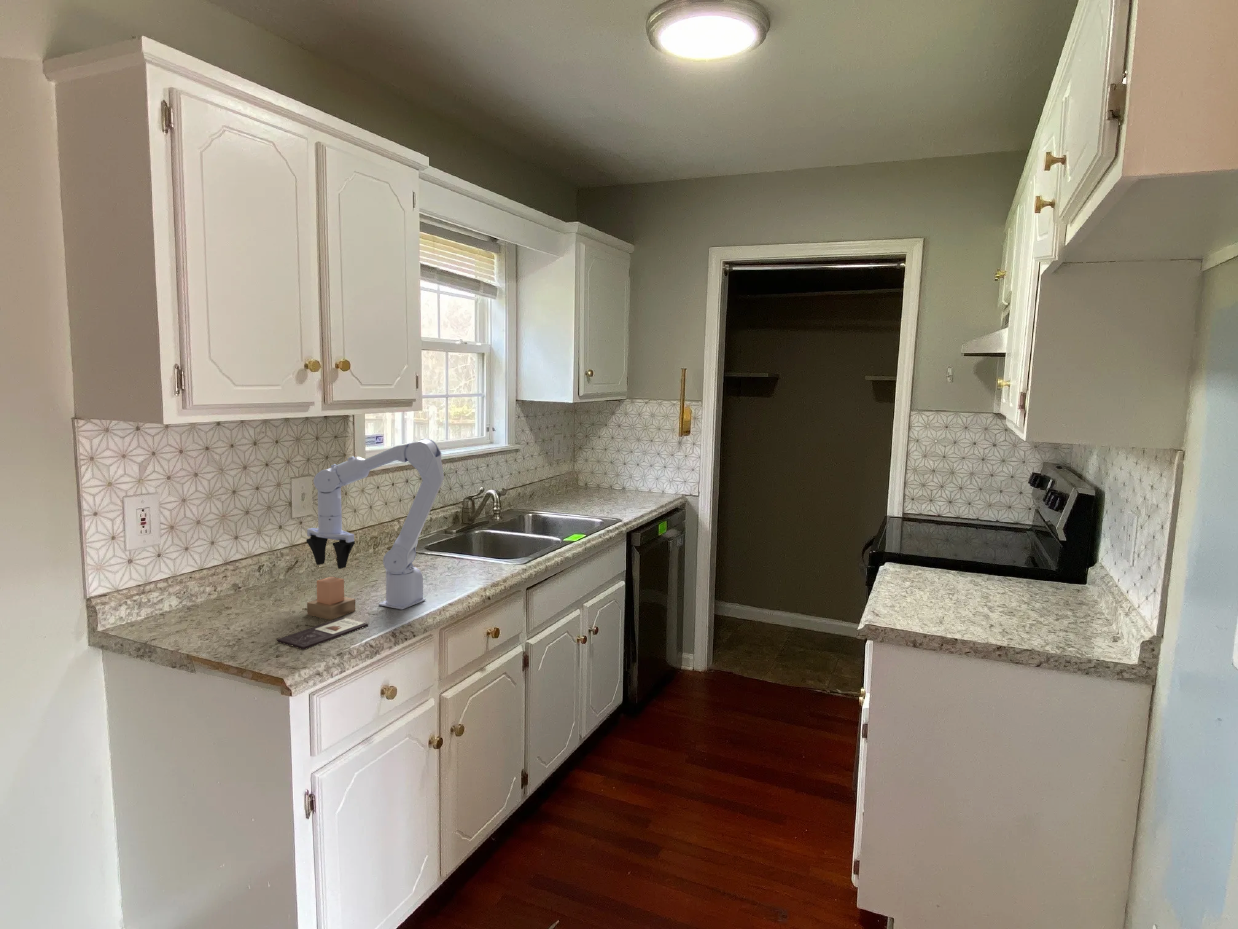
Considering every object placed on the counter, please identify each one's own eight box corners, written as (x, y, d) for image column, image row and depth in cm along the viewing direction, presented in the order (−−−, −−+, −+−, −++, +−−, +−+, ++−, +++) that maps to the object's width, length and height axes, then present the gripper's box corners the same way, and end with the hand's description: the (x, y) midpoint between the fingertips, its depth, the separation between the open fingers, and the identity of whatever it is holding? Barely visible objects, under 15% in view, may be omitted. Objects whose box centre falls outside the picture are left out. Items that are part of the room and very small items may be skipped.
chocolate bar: (276, 639, 164) (342, 617, 180) (277, 643, 165) (342, 621, 180) (303, 647, 160) (368, 624, 176) (303, 651, 160) (368, 627, 176)
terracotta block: (331, 597, 187) (331, 576, 186) (344, 600, 185) (343, 579, 184) (317, 602, 183) (316, 580, 182) (329, 604, 181) (329, 583, 180)
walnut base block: (332, 607, 190) (331, 594, 190) (355, 612, 187) (355, 599, 186) (307, 616, 183) (307, 602, 182) (331, 621, 180) (330, 607, 179)
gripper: (297, 514, 189) (298, 565, 191) (338, 520, 183) (340, 573, 185) (318, 510, 196) (320, 559, 197) (359, 515, 189) (360, 567, 191)
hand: (331, 566), depth 191 cm, fingers open, 7 cm apart
